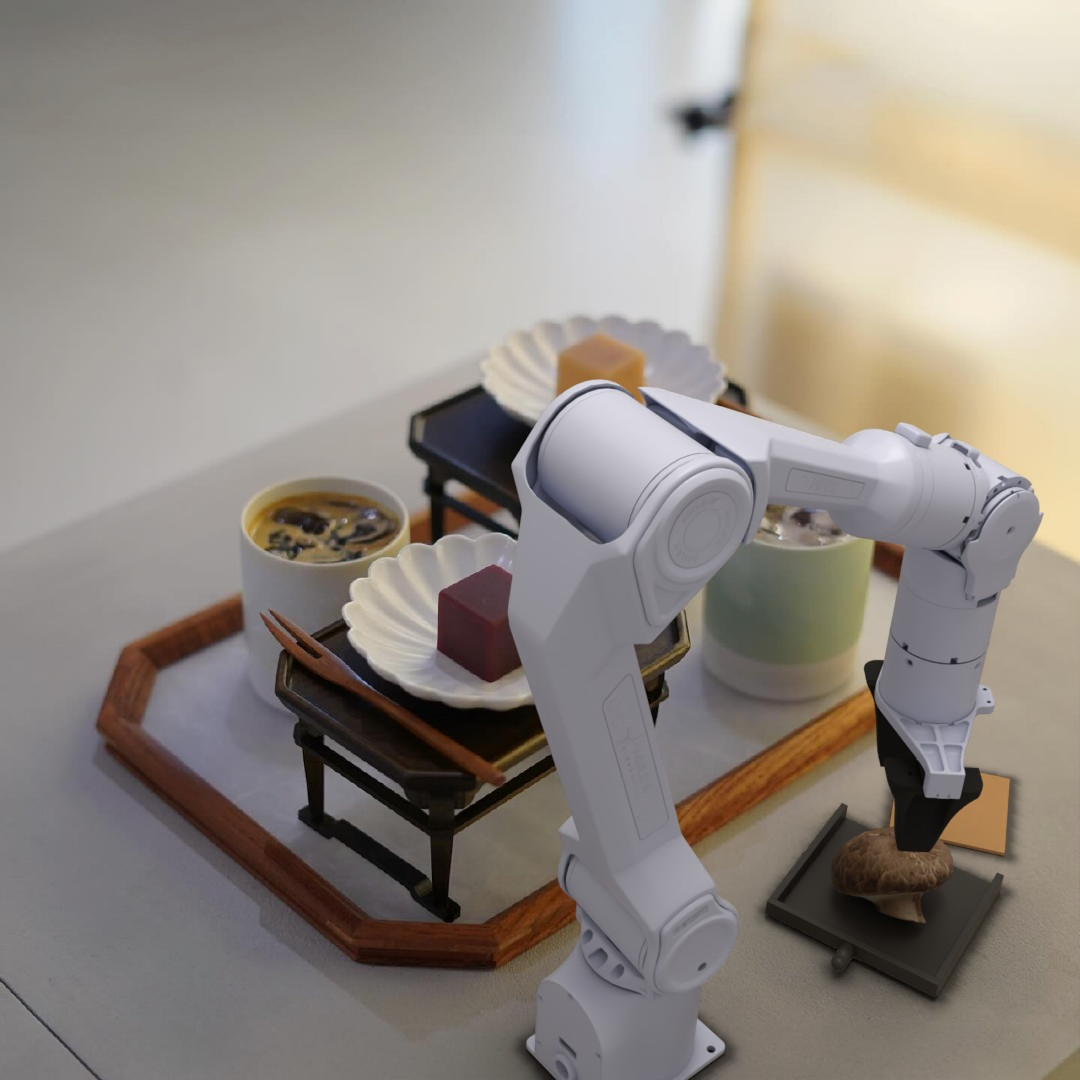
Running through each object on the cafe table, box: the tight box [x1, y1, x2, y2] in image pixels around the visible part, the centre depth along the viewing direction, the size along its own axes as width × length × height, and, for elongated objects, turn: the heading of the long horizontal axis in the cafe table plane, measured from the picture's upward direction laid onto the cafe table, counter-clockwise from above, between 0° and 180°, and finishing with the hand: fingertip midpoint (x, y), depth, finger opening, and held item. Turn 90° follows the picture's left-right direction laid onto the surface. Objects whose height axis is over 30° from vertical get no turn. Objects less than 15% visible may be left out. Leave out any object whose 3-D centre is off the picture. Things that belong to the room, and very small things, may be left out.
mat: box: [888, 772, 1011, 857], centre depth 110 cm, size 8×8×1 cm
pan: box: [764, 802, 1005, 998], centre depth 101 cm, size 14×12×2 cm
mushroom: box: [831, 826, 955, 924], centre depth 101 cm, size 8×8×6 cm
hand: (903, 804), depth 97 cm, fingers open, 7 cm apart
